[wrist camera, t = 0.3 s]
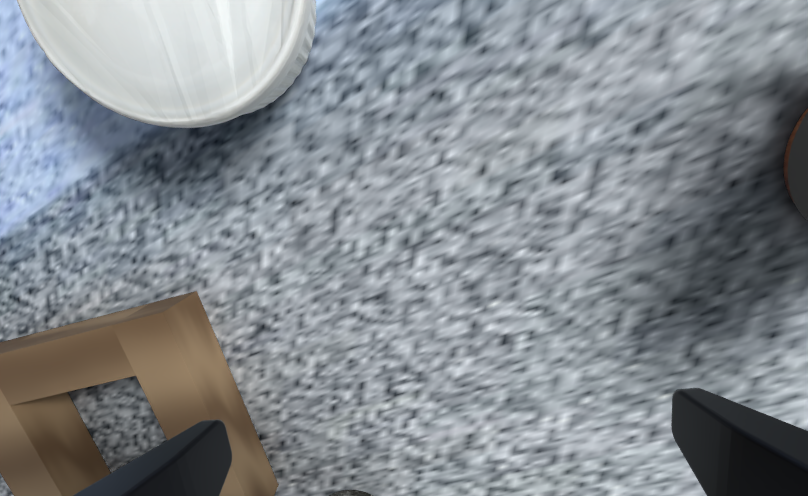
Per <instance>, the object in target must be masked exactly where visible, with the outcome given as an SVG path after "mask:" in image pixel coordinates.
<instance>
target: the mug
mask: <svg viewBox="0 0 808 496" xmlns="http://www.w3.org/2000/svg"><path fill="white" fill-rule="evenodd" d="M783 168H784V179H785V184H786V188H787V190H788V193H789V195H790V197H791V199H792V201H793V202H794V204H795V205H796V207H797V208H798V210H799V212H800V213H801V214H802V215H803V217H804V218H805V219H806V220H807V221H808V108H807V109H806V111H805V112H804V113H803V114H802V116H801V117H800V119H799V121H798V122H797V124H796V125H795V127H794V129H793V131H792V133H791V135H790V138H789V141H788V144H787V147H786V151H785V156H784V166H783Z"/></svg>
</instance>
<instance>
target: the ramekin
mask: <svg viewBox="0 0 808 496" xmlns="http://www.w3.org/2000/svg"><path fill="white" fill-rule="evenodd" d="M17 2H18V4H19V7H20V9H21V12H22V14H23V16H24V18H25V21H26V23H27V25H28V27H29V29H30V31H31V33H32V35H33V37H34V38H35V40H36V41H37V43H38V44H39V46H40V47H41V48H42V50H43V51H44V52H45V54H46V56H47V57H48V59H49V60H50V61H51V63H52V64H53V65H54V66H55V67H56V68H57V69H58V70H59V71H60V72H61V73H62V74H63V75H64V76H65V77H66V78H67V79H68V80H69V81H70V82H72V83H73V84H74V85H75V86H76V87H78V88H79V89H80V90H81V91H83V92H84V93H85V94H87V95H88V96H89V97H90V98H92V99H93V100H95V101H96V102H98V103H99V104H101V105H103V106H104V107H106V108H108V109H110V110H112V111H114V112H116V113H118V114H120V115H123V116H125V117H128V118H131V119H134V120H137V121H140V122H143V123H147V124H152V125H157V126H164V127H174V128H196V127H205V126H211V125H216V124H220V123H224V122H226V121H229V120H232V119H234V118H236V117H238V116H240V115H243V114H248V113H252V112H254V111H256V110H258V109H261V108H264V107H265V106H267V105H268V104H269V103H272V102H274V101H275V100H276V99H277V98H278V97H279V96H281V95H282V94H284V93H285V91H286V90H287V89H288V88H289V87H290V86H291V85H292V84H293V82H294V80H295V79H296V77H297V76H298V75H299V74H300V73H301V70H302V68H303V66H304V64H305V63H306V62H307V59H308V55H309V52H310V50H311V48H312V42H313V38H314V36H315V24H316V1H315V0H17Z"/></svg>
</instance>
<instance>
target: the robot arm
mask: <svg viewBox="0 0 808 496" xmlns="http://www.w3.org/2000/svg"><path fill="white" fill-rule="evenodd" d="M671 426H672V433H673V436H674V439H675V441H676V443H677V445H678V446H679V448H680V450H681V452H682V453H683V455H684V457H685V458H686V460H687V462H688V464H689V465H690V467H691V469H692V471H693V472H694V474H695V476H696V477H697V479H698V481H699V483H700V484H701V486H702V488H703V490H704V491H705V493H706V495H707V496H808V431H806V430H804V429H801V428H798V427H796V426H793V425H791V424H788V423H786V422H783V421H781V420H778V419H776V418H773V417H771V416H768V415H766V414H763V413H761V412H758V411H756V410H753V409H751V408H748V407H746V406H743V405H741V404H738V403H736V402H733V401H731V400H728V399H725V398H723V397H720V396H718V395H715V394H713V393H710V392H708V391H705V390H703V389H700V388H690V389H678V390H676V391H675V392H674V394H673V398H672V425H671ZM231 463H232V450H231V446H230V442H229V438H228V434H227V430H226V426H225V424H224V422H223V421H222V420H219V419H217V420H203V421H200V422H198V423H197V424H195V425H193V426H192V427H190V428H188V429H186V430H185V431H183V432H181V433H180V434H178V435H176V436H174V437H173V438H171V439H169V440H167V441H166V442H164V443H162V444H161V445H159V446H157V447H155V448H154V449H152V450H150V451H149V452H147V453H145V454H143V455H142V456H140V457H138V458H136V459H135V460H133V461H131V462H130V463H128V464H126V465H124V466H123V467H121V468H119V469H118V470H116V471H114V472H112V473H111V474H109V475H107V476H105V477H104V478H102V479H100V480H99V481H97V482H95V483H93V484H92V485H90V486H88V487H87V488H85V489H83V490H81V491H80V492H78V493H76V494H74V495H73V496H219V495H220V493H221V490H222V487H223V485H224V482H225V480H226V477H227V474H228V472H229V469H230V466H231Z"/></svg>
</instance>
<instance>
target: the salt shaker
mask: <svg viewBox="0 0 808 496" xmlns="http://www.w3.org/2000/svg"><path fill="white" fill-rule="evenodd" d="M329 496H373V495H371V494H368V493H366V492H362V491H357V490H344V491H339V492H335V493H333V494H331V495H329Z"/></svg>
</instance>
